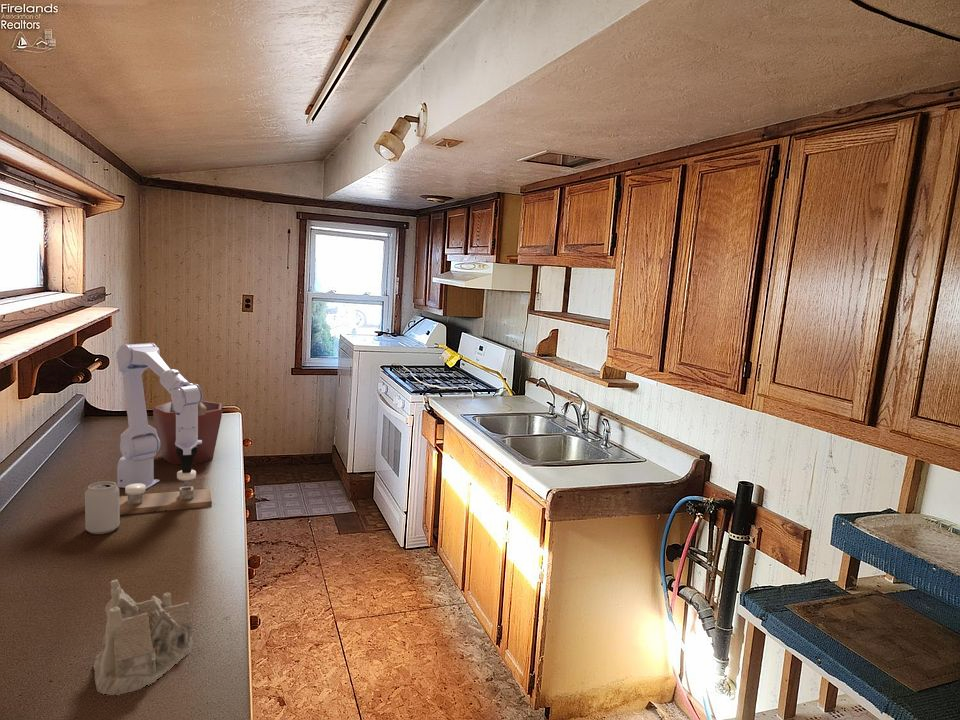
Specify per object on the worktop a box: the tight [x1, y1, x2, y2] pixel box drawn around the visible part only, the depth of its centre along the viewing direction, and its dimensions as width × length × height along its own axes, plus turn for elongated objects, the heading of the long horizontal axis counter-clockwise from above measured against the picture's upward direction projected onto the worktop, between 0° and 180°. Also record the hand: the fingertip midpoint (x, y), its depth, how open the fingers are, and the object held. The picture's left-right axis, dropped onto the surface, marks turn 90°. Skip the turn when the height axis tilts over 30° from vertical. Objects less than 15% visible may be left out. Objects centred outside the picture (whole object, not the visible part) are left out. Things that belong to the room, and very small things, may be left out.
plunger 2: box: [176, 469, 197, 487], centre depth 178 cm, size 5×5×4 cm
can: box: [84, 480, 121, 535], centre depth 157 cm, size 8×8×12 cm
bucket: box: [152, 400, 223, 465], centre depth 218 cm, size 24×22×25 cm
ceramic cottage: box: [93, 578, 195, 696], centre depth 107 cm, size 16×16×15 cm
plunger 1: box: [124, 483, 147, 496], centre depth 173 cm, size 5×5×4 cm
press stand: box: [119, 485, 213, 516], centre depth 176 cm, size 26×11×4 cm, turn 116°
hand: (186, 472), depth 178 cm, fingers closed, pressing on plunger 2
